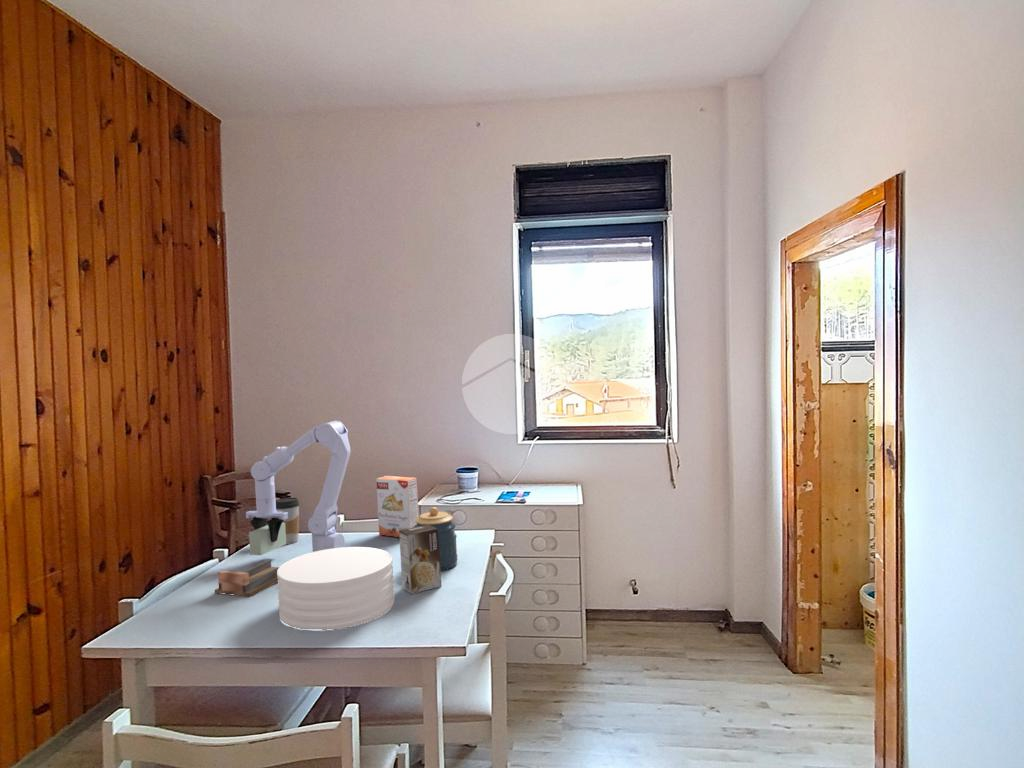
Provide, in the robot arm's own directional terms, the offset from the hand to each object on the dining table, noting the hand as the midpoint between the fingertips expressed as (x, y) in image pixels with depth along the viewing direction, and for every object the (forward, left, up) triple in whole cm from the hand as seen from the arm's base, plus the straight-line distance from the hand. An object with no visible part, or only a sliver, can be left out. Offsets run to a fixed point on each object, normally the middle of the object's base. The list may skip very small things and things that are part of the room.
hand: (268, 540), depth 198 cm
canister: (-55, -7, -7) cm, 56 cm away
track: (-10, +17, -7) cm, 21 cm away
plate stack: (-44, +28, -7) cm, 53 cm away
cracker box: (-28, -34, -7) cm, 45 cm away
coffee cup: (+8, -20, -7) cm, 23 cm away
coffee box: (-59, +11, -7) cm, 60 cm away
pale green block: (0, 0, -3) cm, 3 cm away
